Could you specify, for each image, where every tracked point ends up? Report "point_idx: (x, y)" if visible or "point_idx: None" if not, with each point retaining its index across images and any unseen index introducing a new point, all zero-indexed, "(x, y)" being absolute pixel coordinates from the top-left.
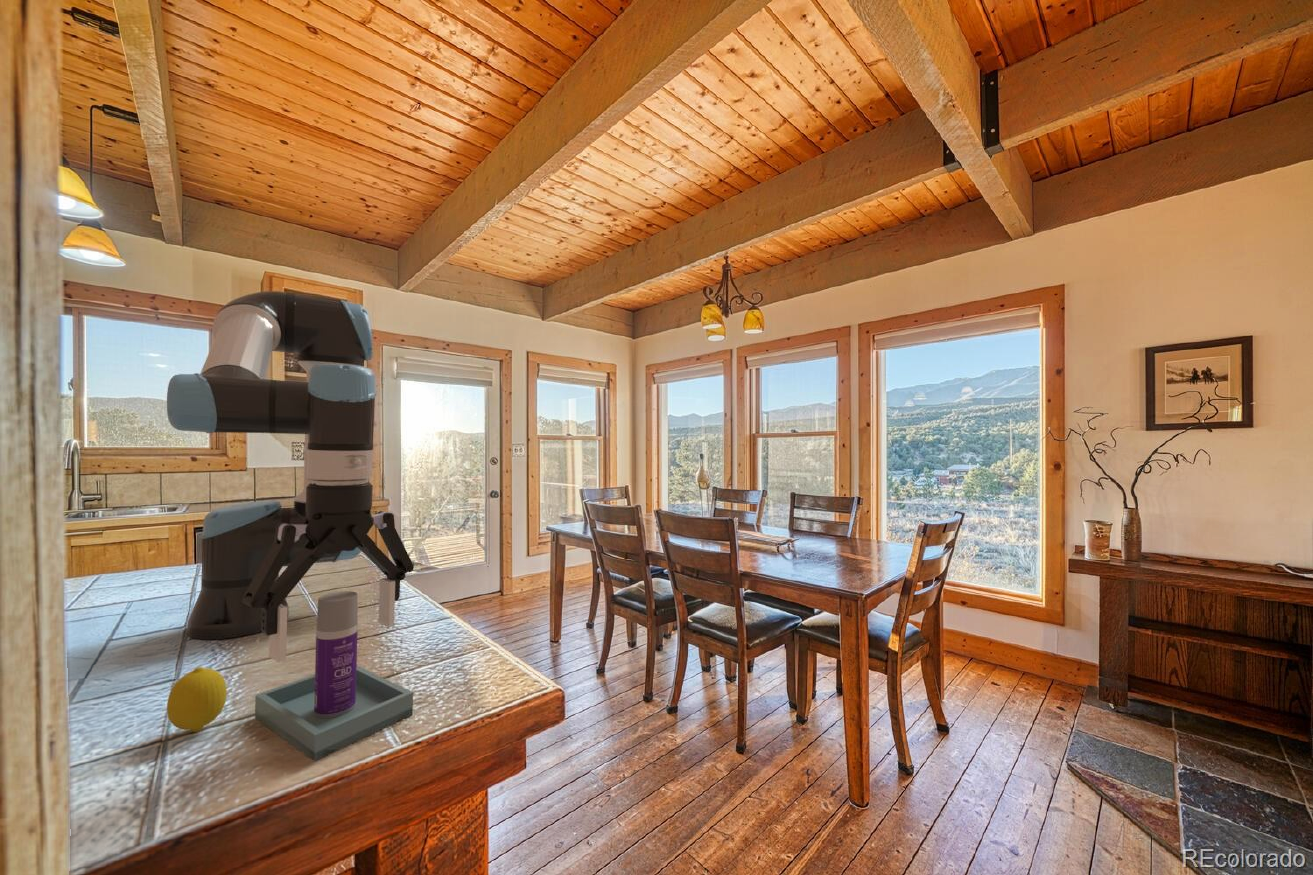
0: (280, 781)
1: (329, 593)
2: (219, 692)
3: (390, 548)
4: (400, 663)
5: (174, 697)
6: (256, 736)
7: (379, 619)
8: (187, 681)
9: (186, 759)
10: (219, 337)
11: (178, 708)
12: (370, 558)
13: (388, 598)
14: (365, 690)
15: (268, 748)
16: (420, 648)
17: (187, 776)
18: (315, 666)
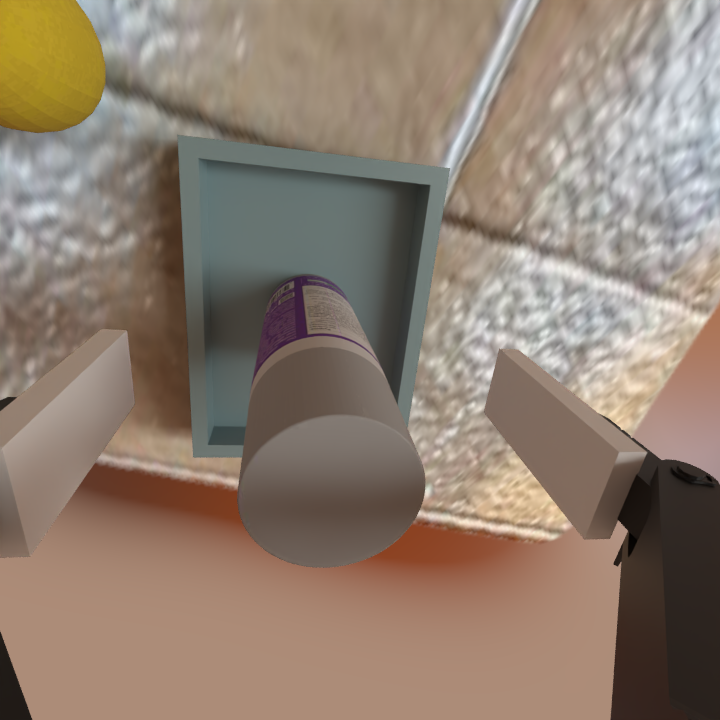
0: (140, 436)
1: (336, 423)
2: (52, 119)
3: None
4: (564, 188)
5: None
6: (163, 243)
7: (504, 361)
8: None
9: (23, 206)
10: None
11: None
12: (651, 613)
13: (538, 471)
14: (397, 292)
15: (164, 316)
16: (664, 146)
17: (16, 283)
18: (260, 340)
